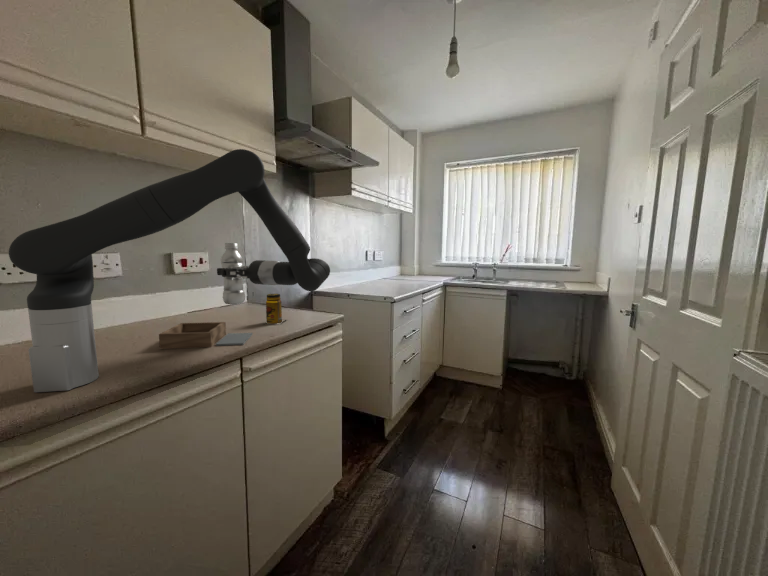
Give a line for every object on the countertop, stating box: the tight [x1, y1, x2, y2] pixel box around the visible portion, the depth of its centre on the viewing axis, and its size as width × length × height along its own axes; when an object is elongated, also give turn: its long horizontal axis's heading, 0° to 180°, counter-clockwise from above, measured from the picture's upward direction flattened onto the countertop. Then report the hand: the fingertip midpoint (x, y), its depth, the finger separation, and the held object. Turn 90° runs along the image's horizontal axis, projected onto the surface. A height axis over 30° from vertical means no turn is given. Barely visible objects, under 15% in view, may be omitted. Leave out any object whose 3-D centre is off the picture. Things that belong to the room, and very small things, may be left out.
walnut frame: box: [158, 321, 227, 350], centre depth 96 cm, size 14×14×4 cm
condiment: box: [265, 293, 288, 325], centre depth 123 cm, size 7×8×12 cm
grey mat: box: [215, 332, 253, 347], centre depth 99 cm, size 12×8×1 cm, turn 11°
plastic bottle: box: [220, 242, 246, 306], centre depth 96 cm, size 6×7×20 cm
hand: (227, 271), depth 97 cm, fingers closed on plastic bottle, 6 cm apart
